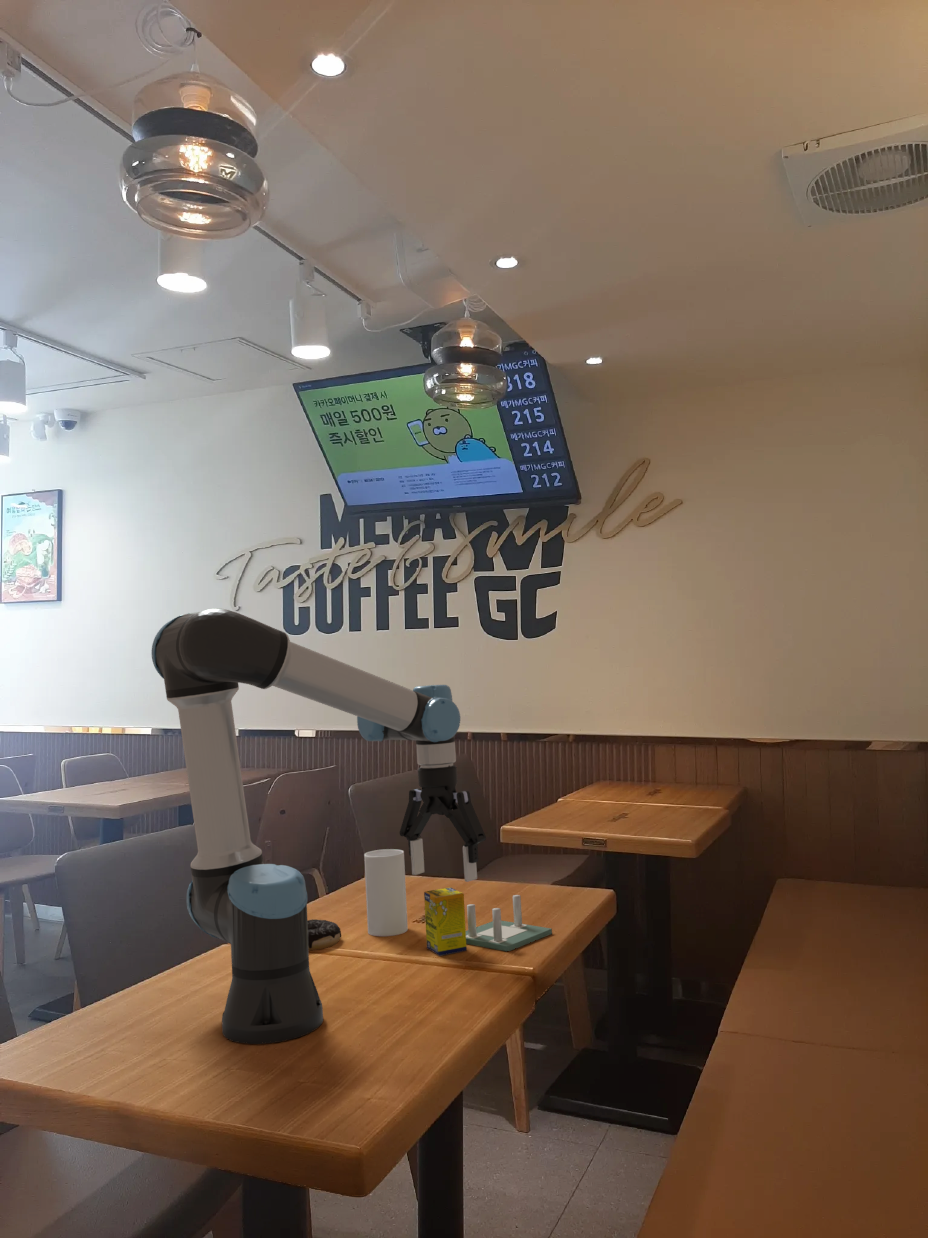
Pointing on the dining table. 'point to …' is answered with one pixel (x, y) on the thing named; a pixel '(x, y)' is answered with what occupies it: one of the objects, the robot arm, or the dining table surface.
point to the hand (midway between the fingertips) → (444, 877)
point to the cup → (385, 892)
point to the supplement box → (445, 921)
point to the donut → (322, 934)
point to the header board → (503, 930)
